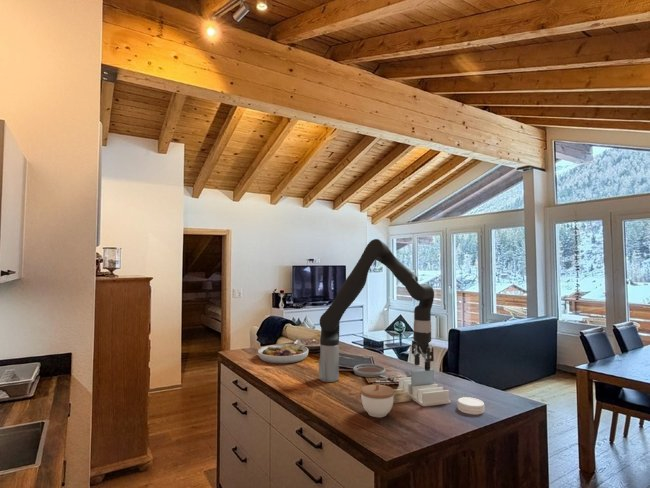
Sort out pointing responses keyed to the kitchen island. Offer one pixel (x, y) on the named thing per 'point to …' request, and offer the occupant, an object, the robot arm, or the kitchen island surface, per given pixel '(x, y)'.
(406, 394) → the plate stand
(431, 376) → the grey board
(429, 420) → the kitchen island surface
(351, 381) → the kitchen island surface
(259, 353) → the bowl
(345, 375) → the kitchen island surface
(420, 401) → the dish rack
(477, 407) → the coaster
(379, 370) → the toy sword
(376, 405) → the lidded bowl
